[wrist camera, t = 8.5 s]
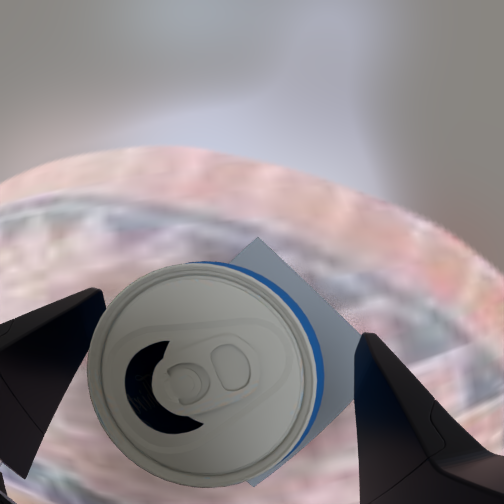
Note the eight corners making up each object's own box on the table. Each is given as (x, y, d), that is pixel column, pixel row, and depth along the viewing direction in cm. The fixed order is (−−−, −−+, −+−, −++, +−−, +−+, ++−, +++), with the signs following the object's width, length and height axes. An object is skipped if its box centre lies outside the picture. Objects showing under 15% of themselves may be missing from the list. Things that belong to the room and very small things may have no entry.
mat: (383, 360, 18) (387, 360, 17) (253, 483, 15) (253, 487, 15) (258, 239, 21) (257, 236, 20) (131, 357, 18) (127, 357, 18)
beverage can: (172, 334, 18) (51, 299, 7) (265, 296, 19) (266, 206, 7) (210, 426, 16) (134, 516, 5) (307, 389, 17) (374, 444, 5)
